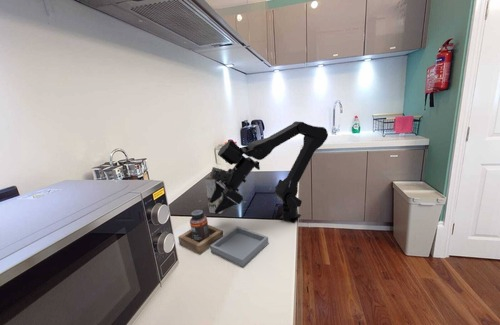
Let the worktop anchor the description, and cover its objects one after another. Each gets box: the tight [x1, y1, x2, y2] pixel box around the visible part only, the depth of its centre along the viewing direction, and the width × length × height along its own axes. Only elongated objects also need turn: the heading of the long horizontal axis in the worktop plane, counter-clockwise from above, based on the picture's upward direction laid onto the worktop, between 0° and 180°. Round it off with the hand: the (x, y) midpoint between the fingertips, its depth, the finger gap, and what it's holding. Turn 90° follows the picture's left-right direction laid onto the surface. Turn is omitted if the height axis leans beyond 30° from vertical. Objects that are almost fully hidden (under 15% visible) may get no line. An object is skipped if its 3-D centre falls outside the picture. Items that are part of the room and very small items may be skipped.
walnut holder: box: [178, 224, 224, 255], centre depth 81 cm, size 11×11×3 cm
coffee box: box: [204, 175, 227, 214], centre depth 103 cm, size 9×6×16 cm
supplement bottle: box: [189, 209, 210, 243], centre depth 80 cm, size 6×6×11 cm
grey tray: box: [209, 226, 269, 268], centre depth 75 cm, size 14×14×2 cm
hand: (212, 207), depth 80 cm, fingers open, 9 cm apart
